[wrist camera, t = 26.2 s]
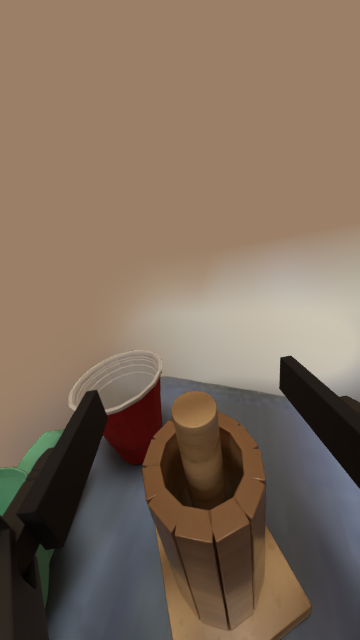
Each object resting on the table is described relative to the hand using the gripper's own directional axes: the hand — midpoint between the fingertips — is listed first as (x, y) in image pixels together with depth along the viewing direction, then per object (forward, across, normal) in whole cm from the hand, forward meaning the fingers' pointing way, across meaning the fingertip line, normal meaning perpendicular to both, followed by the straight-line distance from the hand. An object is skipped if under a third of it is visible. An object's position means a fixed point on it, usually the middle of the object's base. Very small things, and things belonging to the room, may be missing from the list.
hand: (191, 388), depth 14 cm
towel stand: (-3, 0, -15) cm, 15 cm away
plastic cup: (+8, -8, -15) cm, 19 cm away
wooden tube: (-3, 0, -13) cm, 14 cm away
